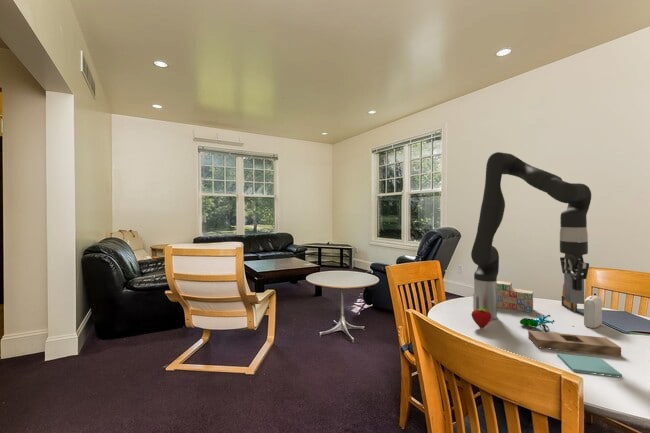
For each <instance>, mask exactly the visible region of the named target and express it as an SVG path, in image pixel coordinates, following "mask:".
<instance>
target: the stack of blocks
mask: <svg viewBox="0 0 650 433" xmlns="http://www.w3.org/2000/svg"><path fill="white" fill-rule="evenodd" d="M512 286H513V282H510V281H502V280H497V308H502V307H503V308H502V309H509V310H514V311H518V312H519V311H521V312H525V313H533V311H534V290H528V289H527V290H525V289H520V288H512Z"/></svg>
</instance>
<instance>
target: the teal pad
mask: <svg viewBox="0 0 650 433" xmlns="http://www.w3.org/2000/svg"><path fill="white" fill-rule="evenodd" d="M556 356H557V358H558V359H560V360H561V362H562V363H564V365H566V366H567V367H568V369H570V370H571V371H572V372H573V371H576V372H575V373H582V374H583V373H584V374H589V373H596V374H595V375H598V374H604V375H603V376H606V375H611V376H610V377H614V376H619V377H618V378H623V374H622V373H621V372H620V371H618V370H617V369H616V368H614V366H612V365H610V364H609V363H608V362H607V361H605V360H604V359H603V358H602V357H601V358H600V357H593V356H584V355H574V354H564V353H556Z"/></svg>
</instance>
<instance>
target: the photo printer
mask: <svg viewBox="0 0 650 433" xmlns="http://www.w3.org/2000/svg"><path fill="white" fill-rule="evenodd" d="M602 324H603V301H602V299H601V298H600V297H599V296H597V295H590V296H588V297H586V298H584V304H583V325H584V326H585V327H586V328H589V329H596V328H598V327H599V326H601V325H602Z"/></svg>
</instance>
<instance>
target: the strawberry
mask: <svg viewBox="0 0 650 433" xmlns="http://www.w3.org/2000/svg"><path fill="white" fill-rule="evenodd" d="M481 305H482V304H481ZM482 307H483V306H482ZM482 307H481V308H480V309H478V308H475V310H474V311H471V317H472V320H473V321H474V323H475V324H476V325H477V326H478V327H479V328H480V329H481V328H483V329H484V328H486V327H487V326H488V324H490V322H491V320H492V319H491V314H490V313H489V312H488V311H489V310H486V309H483V308H482Z"/></svg>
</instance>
